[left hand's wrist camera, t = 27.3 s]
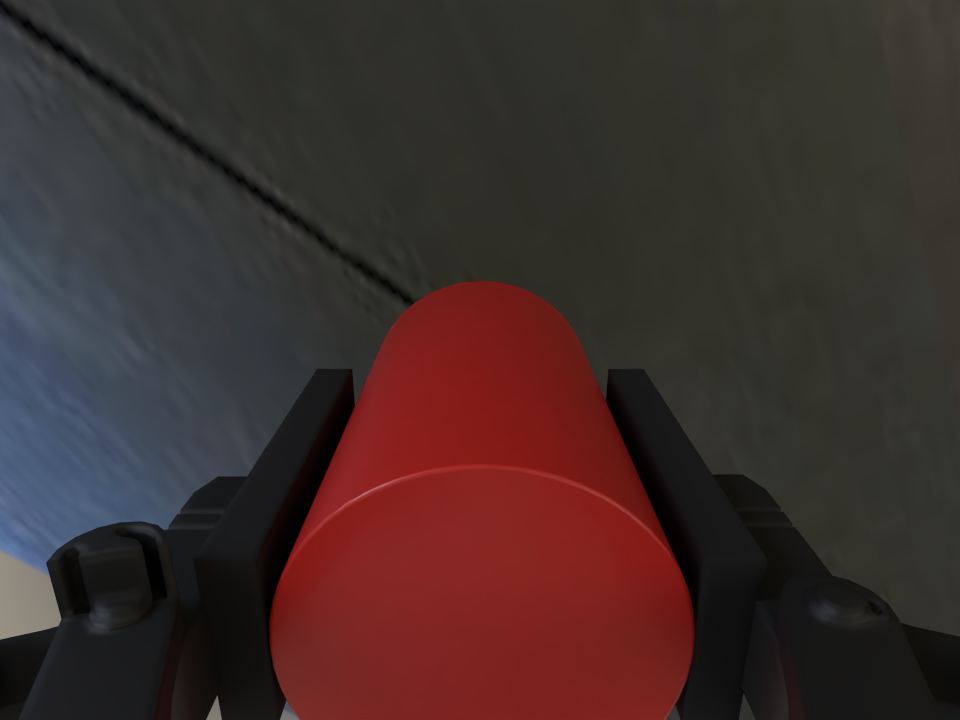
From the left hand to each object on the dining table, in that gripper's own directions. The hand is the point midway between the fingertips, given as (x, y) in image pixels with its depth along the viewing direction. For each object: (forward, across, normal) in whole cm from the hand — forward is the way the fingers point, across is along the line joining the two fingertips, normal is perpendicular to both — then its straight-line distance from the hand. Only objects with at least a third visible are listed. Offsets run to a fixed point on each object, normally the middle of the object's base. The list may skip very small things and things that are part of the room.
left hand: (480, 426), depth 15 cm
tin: (+3, 0, 0) cm, 3 cm away
